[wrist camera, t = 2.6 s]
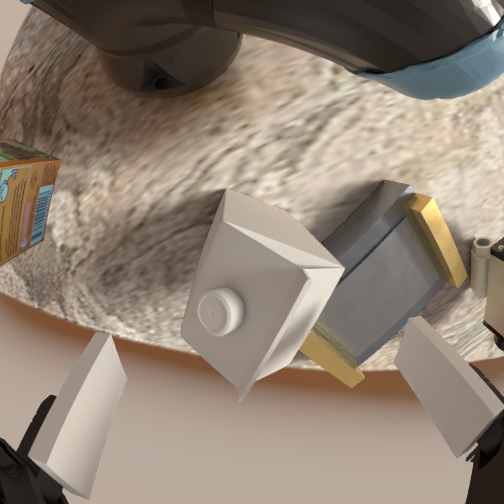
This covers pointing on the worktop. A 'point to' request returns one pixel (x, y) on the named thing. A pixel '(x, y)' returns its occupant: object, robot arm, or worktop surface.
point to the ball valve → (490, 283)
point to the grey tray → (381, 277)
